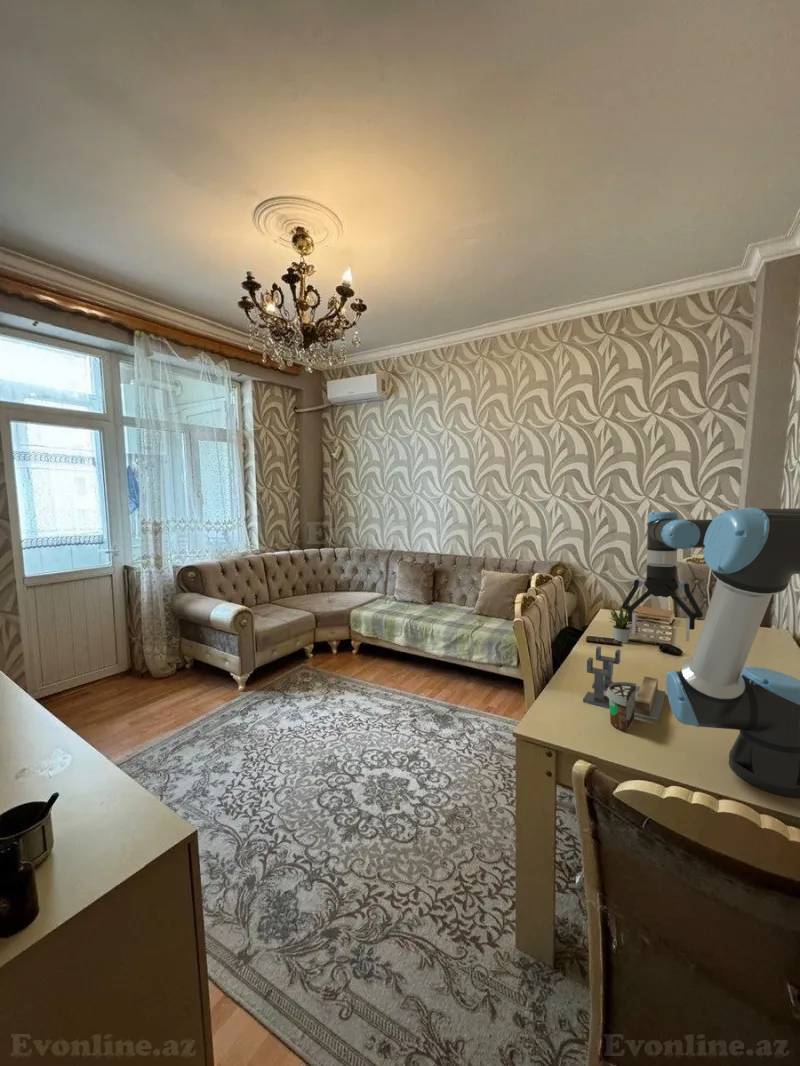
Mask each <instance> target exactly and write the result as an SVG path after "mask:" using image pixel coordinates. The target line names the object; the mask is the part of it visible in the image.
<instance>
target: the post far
mask: <svg viewBox="0 0 800 1066" xmlns="http://www.w3.org/2000/svg"><path fill="white" fill-rule="evenodd" d="M614 654H615V655H614V657H610V656H605V655H602V646H599V645H598V646H596V648H595V661H599V662H602V669H603V670H608V663H609V661H611V662H613V665H620V663H621V650H620V649H616V651H615V652H614ZM612 683H616V682H615V681H613V676H612V677H606V676H605V692H607V689H608V687H609V685H610V684H612ZM591 688H592V689H594V682H593V683H592V685H591Z"/></svg>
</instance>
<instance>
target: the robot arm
mask: <svg viewBox="0 0 800 1066" xmlns="http://www.w3.org/2000/svg"><path fill="white" fill-rule="evenodd" d="M646 526H647V537H646V538H647V539H646V541H647V545H646V563H647V565H646V579H645V580H642V579H640V578H635V580H634V582H633V586H632V588H631V590H630V592H629V594H627V597H626V598H625V599H624V601H623V604H621V607H622V609H623V610H626V611H628V614H627V615H628V623H629V622H630V623H632V624H631V634H632V635H635V634H636V631H637V629H636V627H637V626H636V625H637V612H636V611H637V610H636V608H638V607H639V606H640V604H642V603H643V602H645V600H646V599H648V597H650V596H651V595H652V596H654V597H657V598H658V597H662V598H669V597H671V599H672V600H673V601H675V603H676V604H677V605H678V606H679V607H680V608H681V610H683V611H684V613H685V614H686V623H685V624H686V625H685V642H690V630H692V631H693V630H694V629H695V625H696V624H695V623H696V621H695V620H696V619H697V618H703V611H702V610H701V608H700V606H699V604H698V602H697V601H696V598H695V596H694V595H693V593H692V591H691V590H690V589H691V587H690V583H689V582H687V581H685V582H683V583H682V582H681V583H680V582H678V581H677V580H678V579H677V577H678V576H677V574H678V573H677V571H678V569H677V566H676V565H677V564H678V563H677V562H678V550H679V549H680V550H688V549H703V550H702V551H703V558H704V561H705V563H706V566H707V567H708V568H709V569H710V572H711V574H712V575H713V577H714V578H715V579H716V581H715V586H714V588H713V591H712V595H711V598H710V601H709V605H708V608H707V611H706V615H705V618H704V621H703V624H702V628H701V630H700V634H699V637H698V639H697V640H698V641H697V643H696V646H695V649H694V653H693V656H692V657H689V658H687V659H685V660H684V661H683V662H682V664H681V667H680V671H677V670H670V671H668V672H666V677H665V686H666V688H665V689H666V694H667V698H668V703H669V707H670V709H671V712H672V714H673V715H674V717H675V719H676V720H677V721H678V722H679V723H680V724H682V725H686V726H692V727H693V726H694V727H696V728H711V729H722V730H723V729H725V730H726V729H727V730H735V731H736V730H738V731H739V734H738V736H737V737H736V739H735V741H734V744H733V745H732V747H731V748H730V751H729V754H728V766H729V768H730V769H731V771H732V772H733V773H734V774H736V776H737V777H739V778H741V779H742V780H743V781H745V782H746V783H748V784H750V785H752V786H754V787H756V788H759V789H761V790H764V791H765V792H769V793H772V794H776V795H778V796H779V795H780V796H785V797H789V798H796V799H797V798H799V799H800V680H799V679H798V678H796V677H793V676H791V675H788V674H786V673H783V672H781V671H776V670H773V669H770V668H764V667H759V666H746V667H744V666H745V665H746V661H747V659H748V656H749V654H750V651H751V649H752V647H753V644H754V642H755V639H756V636H757V634H758V631H759V629H760V626H761V624H762V621H763V619H764V617H765V614H766V611H767V609H768V607H769V605H770V602H771V599H772V597H773V595H777V594H780V593H782V592H784V591H785V590H786V589H787V588H788V586H789V584H790V581H791V579H792V576H794V575H800V508H798V507H797V508H795V507H794V508H758V507H745V508H743V509H742V508H741V509H740V508H737V509H728V510H725V511H723V512H720V513H718V515H716V516H715V517H714V518H713V519H679V514H678V513H677V512H676V511H650V512H649V513H648V514H647V523H646ZM643 585H644V587H646V589H647V590H646V591H645V592H644V593H643V594H642V595H641V596H640V597H639V598H638V599H636V601H634V602H633V603H632V604H630V602H631V600H632V599H633V597H634V595H635V594H636V593H637V591H638V589H639V588H641V587H642V586H643ZM678 588H679V589H680V590H681V591H683V592H684V593H685V595H686V597H687V599H688V601H689V603H690V605H691V607H692V609H693V610H694V611H695V612H693V610H692V609H691V608H690V607H689V606H688V605H687V604H686V603H685V602H684V600H682V598H681V597H680V596H679V595H678V594H677V592H675V591H676V590H677V589H678ZM629 604H630V605H629ZM634 610H636V611H634Z"/></svg>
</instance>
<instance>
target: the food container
mask: <svg viewBox="0 0 800 1066" xmlns="http://www.w3.org/2000/svg"><path fill="white" fill-rule="evenodd" d="M636 686H637V684H636V683H634V682H629V681H616V682H615V683H612V684H610V685H609V687H608V689H607V691H606V692H605V693H606V694H605V696H607V697H608V698H609V704H610V709H609V718H610V725H611V726H612V727H613V728H615V729H616V730H618V731H619V732H622V733H625V734H627V733H628V731H629V729H630V728H631V726H632V724H633V722H634V720H635V717H634V716H635V696H636Z"/></svg>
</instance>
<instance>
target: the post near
mask: <svg viewBox="0 0 800 1066" xmlns="http://www.w3.org/2000/svg"><path fill="white" fill-rule="evenodd" d="M593 661H594V658H593V657H590V656H589V657H588V658H587V661H586V673H589V674H593V675H594V678H593V679H594V680H593V681H594V682H593V683H594V688H593V691H594V692H591V691H587V692H586V694H585V695H584V697H583V699H582V703H586V704H589V705H594V706H598V707H602V708H606V709H609V710H610V704H609V698H608V697H607V695H606V694H605V693H606V691H605V676H606V677H612V678H613V676H614V664H613V662H611V661H609V663H608V670H603V668H597V667H593V666H594V665H593V664H594V663H593Z"/></svg>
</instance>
